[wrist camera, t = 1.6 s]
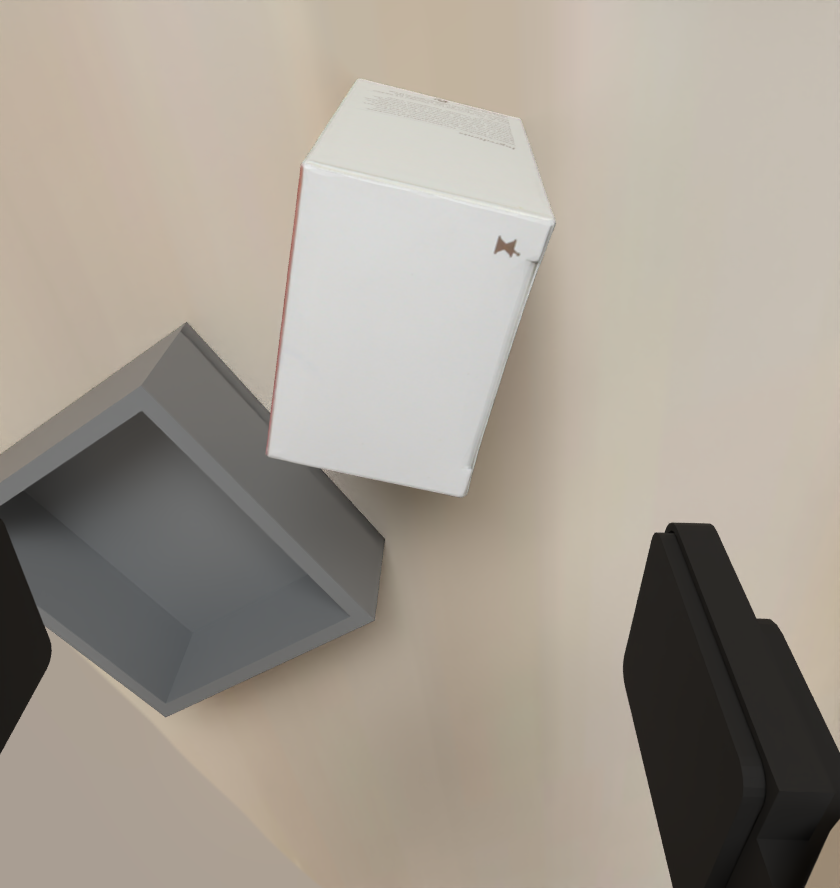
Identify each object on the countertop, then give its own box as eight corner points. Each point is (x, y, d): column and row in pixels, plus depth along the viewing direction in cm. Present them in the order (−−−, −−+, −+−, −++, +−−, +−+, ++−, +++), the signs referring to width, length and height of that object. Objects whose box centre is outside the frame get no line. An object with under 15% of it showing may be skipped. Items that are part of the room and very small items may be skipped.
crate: (186, 321, 29) (140, 385, 25) (384, 539, 35) (374, 620, 31) (-9, 460, 33) (-76, 534, 29) (197, 634, 39) (165, 717, 35)
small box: (356, 73, 24) (297, 148, 15) (526, 116, 24) (563, 213, 16) (320, 302, 28) (257, 463, 20) (464, 335, 29) (466, 506, 20)
